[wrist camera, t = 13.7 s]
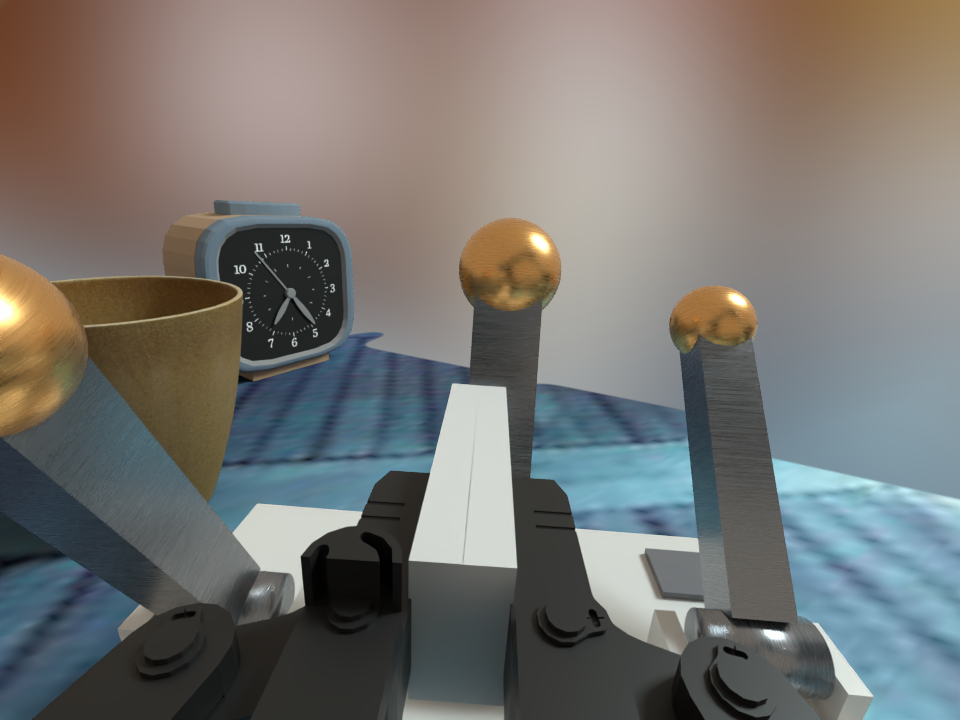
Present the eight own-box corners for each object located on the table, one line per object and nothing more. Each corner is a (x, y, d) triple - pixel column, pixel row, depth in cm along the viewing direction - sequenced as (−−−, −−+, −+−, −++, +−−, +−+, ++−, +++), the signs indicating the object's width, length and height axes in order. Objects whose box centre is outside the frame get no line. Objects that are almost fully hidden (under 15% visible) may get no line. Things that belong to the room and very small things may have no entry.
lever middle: (532, 633, 16) (559, 235, 15) (541, 706, 13) (576, 206, 12) (437, 625, 16) (463, 230, 16) (423, 694, 13) (454, 200, 12)
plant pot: (16, 497, 33) (-57, 285, 28) (231, 436, 43) (207, 271, 38) (19, 629, 23) (-92, 340, 18) (297, 510, 34) (276, 302, 28)
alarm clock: (221, 394, 52) (191, 200, 45) (183, 374, 57) (151, 197, 50) (357, 354, 69) (351, 206, 62) (319, 341, 74) (309, 204, 67)
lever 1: (305, 572, 16) (68, 205, 7) (269, 676, 14) (-175, 349, 4) (215, 565, 17) (-147, 193, 7) (166, 666, 14) (-497, 327, 4)
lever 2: (782, 682, 15) (728, 311, 20) (856, 718, 12) (770, 273, 17) (681, 673, 15) (653, 306, 20) (729, 707, 12) (682, 267, 17)
